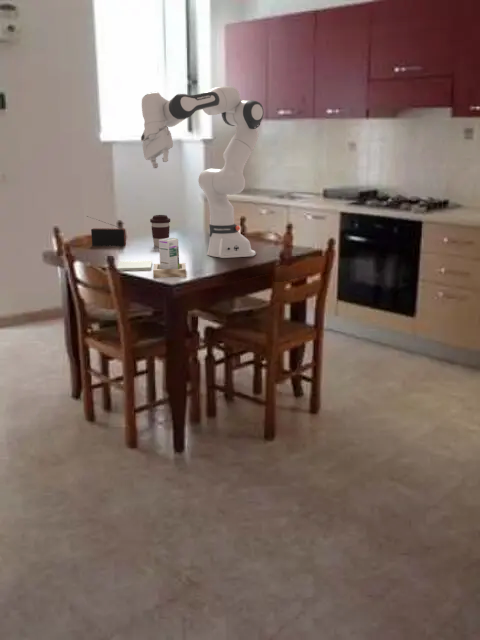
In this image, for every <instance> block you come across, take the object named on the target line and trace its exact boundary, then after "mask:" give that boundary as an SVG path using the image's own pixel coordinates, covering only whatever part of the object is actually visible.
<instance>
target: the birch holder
mask: <svg viewBox="0 0 480 640" xmlns="http://www.w3.org/2000/svg"><path fill="white" fill-rule="evenodd" d="M186 267H187V266H186V263H185V262H179V269H160V263H153V268H152V270H153V275H152V276H153V278H185V277H187V274H186V273H187V270H186V269H187V268H186Z"/></svg>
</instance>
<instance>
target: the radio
mask: <svg viewBox="0 0 480 640" xmlns="http://www.w3.org/2000/svg"><path fill="white" fill-rule="evenodd" d="M86 217H88V218H91V219H93V220H96V221H100V222H102V223H105V224H108V225H110V226H113V227H116V228H113V227H112V228H101V227H100V228H98V227H95V228H91V229H90V231H91V233H90V234H91V246H92V247H126V245H127V244H126V243H127V242H126V237H127V236H126V228H122V227H121V226H117V225H115V224H112V223H108V222H105V221H102V220H100V219H96V218H94V217H92V216H88V215H86Z"/></svg>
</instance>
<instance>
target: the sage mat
mask: <svg viewBox="0 0 480 640" xmlns="http://www.w3.org/2000/svg"><path fill="white" fill-rule="evenodd" d="M152 266H153V261H152V260H141V261H140V260H138V261H134V260H133V261H131V260H130V261H119V262H118V265H117V268H116V270H117V269H118V270H121V271H120V272H124V271H123V270H138V271H152Z"/></svg>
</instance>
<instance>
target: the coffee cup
mask: <svg viewBox="0 0 480 640" xmlns="http://www.w3.org/2000/svg"><path fill="white" fill-rule="evenodd" d="M149 221H150V223H151V235H152V236H151V237H152V238H153V239H152V240H153V246H154V247H158V248H159V240H160V239H166V238H170V223H171V218H170V217H168V215H167V214H155V215H152V218H150V219H149Z"/></svg>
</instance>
